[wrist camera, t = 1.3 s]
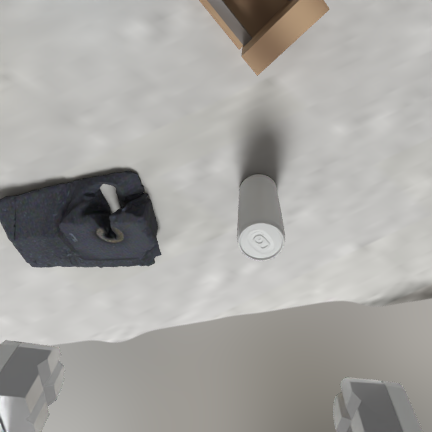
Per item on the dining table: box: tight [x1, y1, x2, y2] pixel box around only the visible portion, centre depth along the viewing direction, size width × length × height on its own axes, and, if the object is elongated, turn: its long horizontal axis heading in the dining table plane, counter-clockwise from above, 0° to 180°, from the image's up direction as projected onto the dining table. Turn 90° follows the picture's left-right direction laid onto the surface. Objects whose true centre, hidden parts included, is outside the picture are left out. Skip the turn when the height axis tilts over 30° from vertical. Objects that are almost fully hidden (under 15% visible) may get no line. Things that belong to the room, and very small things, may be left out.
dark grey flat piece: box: [0, 171, 161, 268], centre depth 49 cm, size 15×22×5 cm
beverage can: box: [237, 174, 285, 261], centre depth 41 cm, size 5×5×12 cm
